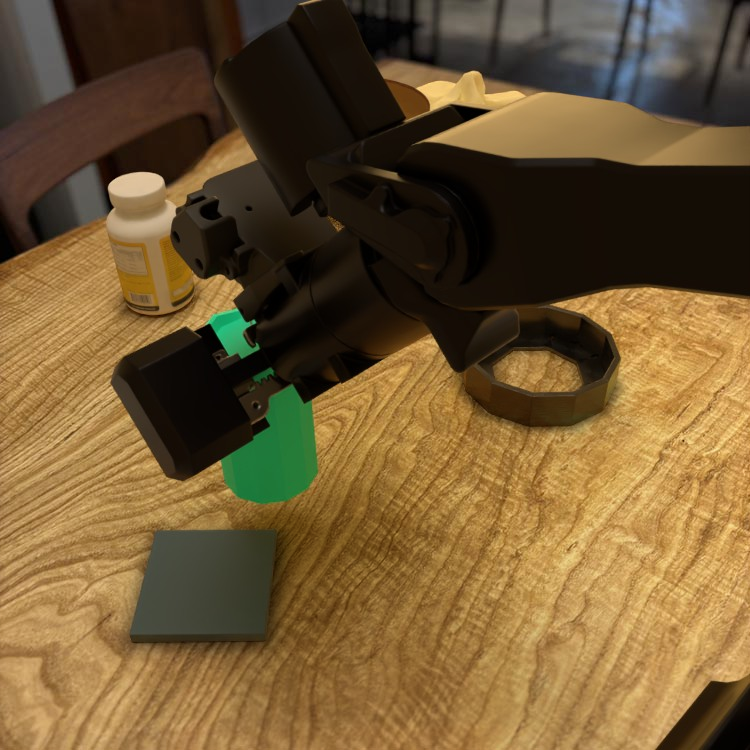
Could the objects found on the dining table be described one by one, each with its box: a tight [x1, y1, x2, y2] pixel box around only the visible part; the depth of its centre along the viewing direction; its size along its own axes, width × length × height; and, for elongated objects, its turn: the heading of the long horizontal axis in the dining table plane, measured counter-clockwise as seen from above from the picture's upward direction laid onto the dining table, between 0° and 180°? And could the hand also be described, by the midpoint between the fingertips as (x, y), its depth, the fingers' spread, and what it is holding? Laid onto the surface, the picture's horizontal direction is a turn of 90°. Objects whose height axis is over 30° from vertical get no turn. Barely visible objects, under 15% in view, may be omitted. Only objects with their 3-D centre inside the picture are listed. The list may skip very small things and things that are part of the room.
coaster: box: [128, 528, 278, 643], centre depth 53 cm, size 8×8×1 cm
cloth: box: [414, 70, 527, 111], centre depth 108 cm, size 22×19×6 cm
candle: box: [205, 308, 319, 505], centre depth 50 cm, size 6×6×12 cm
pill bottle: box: [105, 171, 196, 316], centre depth 75 cm, size 6×6×12 cm
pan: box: [462, 304, 622, 427], centre depth 75 cm, size 28×12×3 cm, turn 1°
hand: (246, 378), depth 50 cm, fingers closed on candle, 5 cm apart
